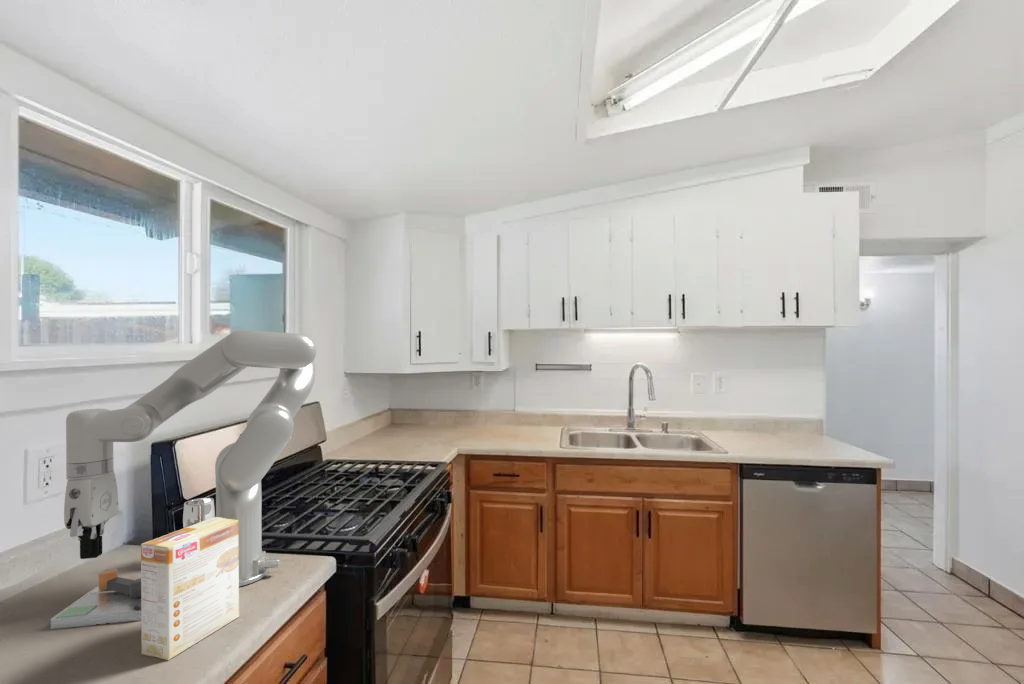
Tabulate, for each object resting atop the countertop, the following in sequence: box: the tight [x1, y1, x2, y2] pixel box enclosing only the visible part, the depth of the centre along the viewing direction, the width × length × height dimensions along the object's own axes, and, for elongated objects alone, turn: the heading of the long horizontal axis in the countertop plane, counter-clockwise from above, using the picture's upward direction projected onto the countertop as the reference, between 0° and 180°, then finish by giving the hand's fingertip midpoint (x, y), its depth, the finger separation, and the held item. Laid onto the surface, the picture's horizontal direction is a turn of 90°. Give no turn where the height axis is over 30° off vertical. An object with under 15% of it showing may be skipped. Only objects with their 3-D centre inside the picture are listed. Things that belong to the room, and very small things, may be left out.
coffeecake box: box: [140, 516, 240, 661], centre depth 93 cm, size 15×7×20 cm, turn 162°
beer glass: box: [182, 497, 216, 529], centre depth 128 cm, size 7×7×15 cm
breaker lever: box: [98, 569, 141, 597], centre depth 106 cm, size 13×4×3 cm, turn 71°
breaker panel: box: [50, 585, 141, 630], centre depth 104 cm, size 16×14×2 cm
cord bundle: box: [134, 601, 141, 611], centre depth 105 cm, size 4×17×3 cm, turn 10°
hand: (91, 556), depth 103 cm, fingers closed
